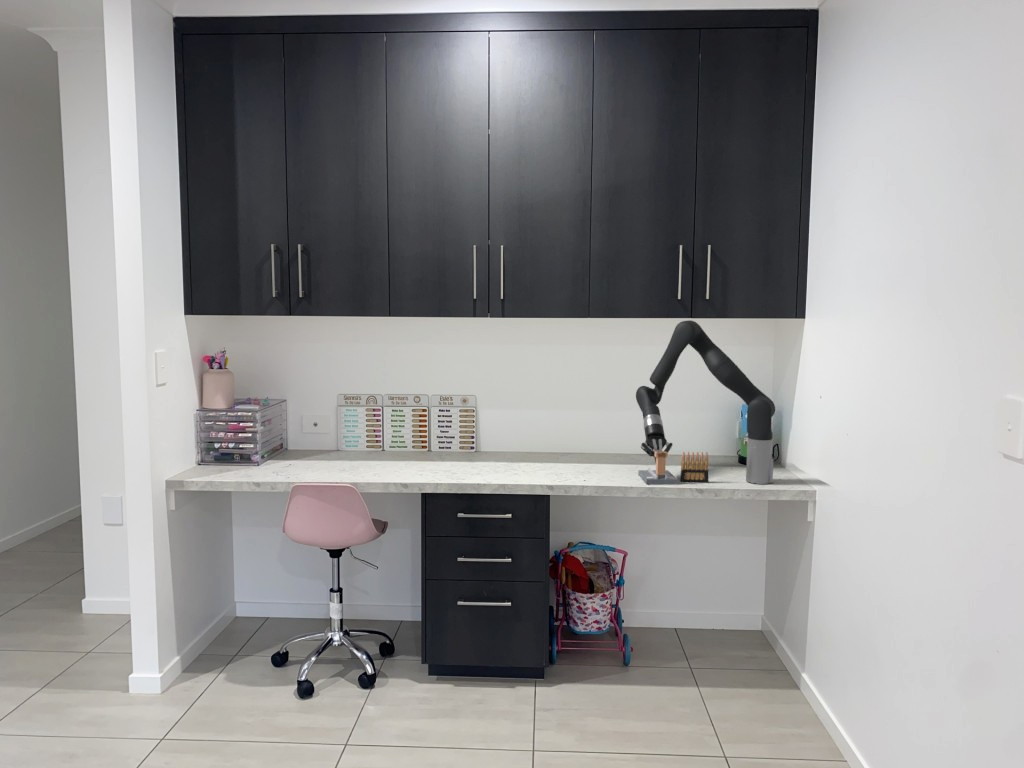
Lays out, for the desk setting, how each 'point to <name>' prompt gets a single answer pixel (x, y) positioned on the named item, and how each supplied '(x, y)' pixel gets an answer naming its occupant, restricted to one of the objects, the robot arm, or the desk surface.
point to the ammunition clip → (694, 469)
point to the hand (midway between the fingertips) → (659, 464)
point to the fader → (660, 463)
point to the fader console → (652, 478)
